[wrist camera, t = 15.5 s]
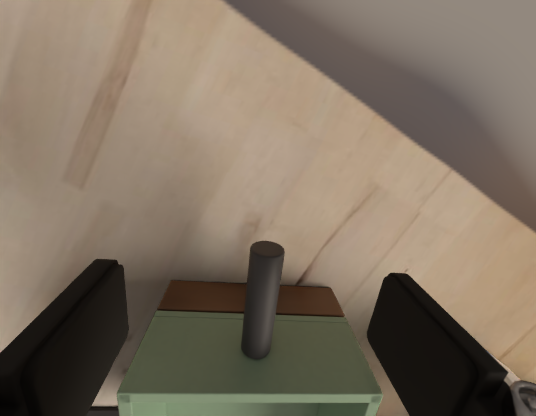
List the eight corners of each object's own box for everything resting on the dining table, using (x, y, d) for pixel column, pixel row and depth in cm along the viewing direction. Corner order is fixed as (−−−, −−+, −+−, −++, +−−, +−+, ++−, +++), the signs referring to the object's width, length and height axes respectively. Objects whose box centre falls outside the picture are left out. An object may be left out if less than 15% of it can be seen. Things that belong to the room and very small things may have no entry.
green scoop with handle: (152, 218, 14) (101, 271, 9) (367, 233, 15) (422, 287, 10) (161, 434, 19) (133, 537, 15) (316, 433, 21) (336, 526, 16)
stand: (172, 394, 22) (161, 434, 19) (170, 279, 19) (156, 308, 16) (307, 395, 23) (316, 433, 21) (331, 287, 20) (345, 315, 17)
